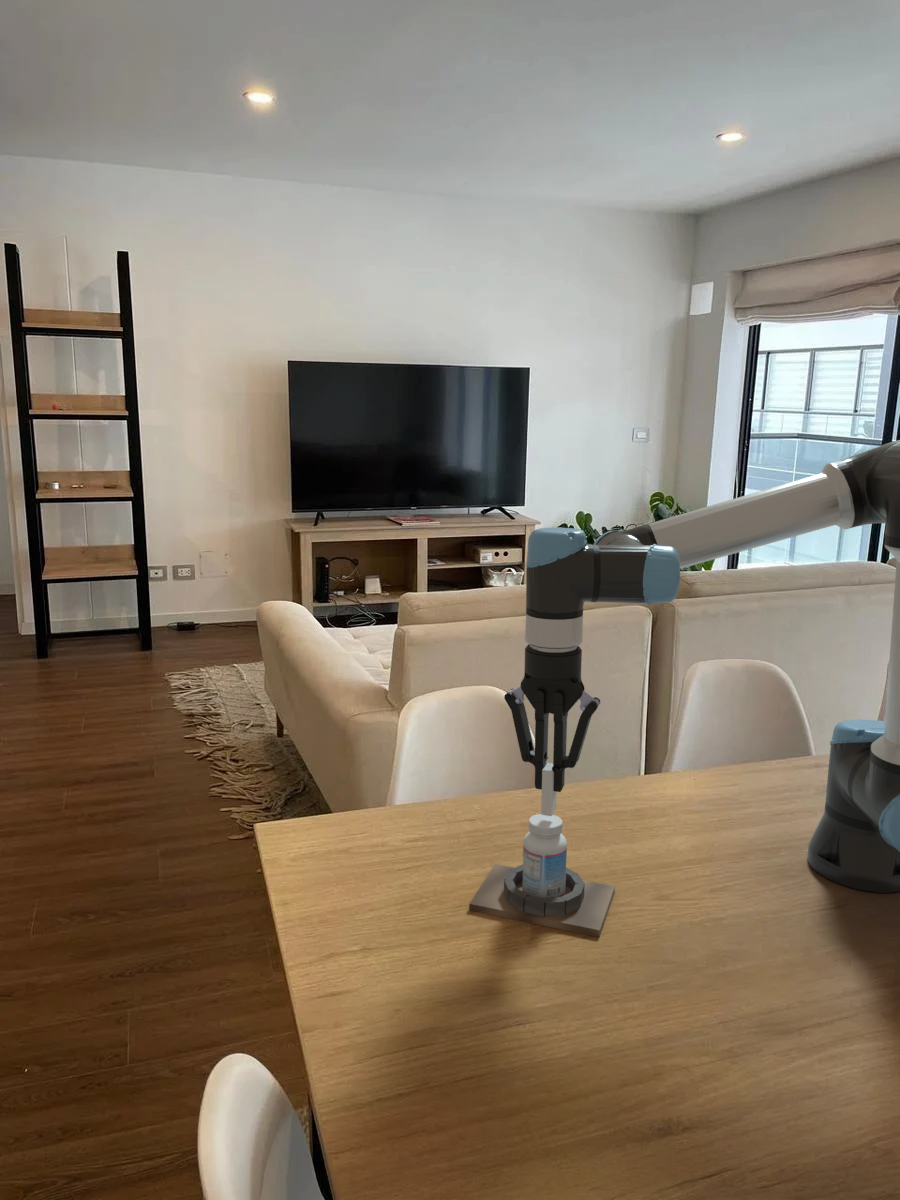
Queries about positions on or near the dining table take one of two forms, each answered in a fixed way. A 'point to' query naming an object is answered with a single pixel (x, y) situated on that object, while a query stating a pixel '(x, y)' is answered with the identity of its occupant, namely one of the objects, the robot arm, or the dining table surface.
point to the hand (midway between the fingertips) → (548, 811)
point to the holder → (545, 901)
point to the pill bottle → (544, 857)
